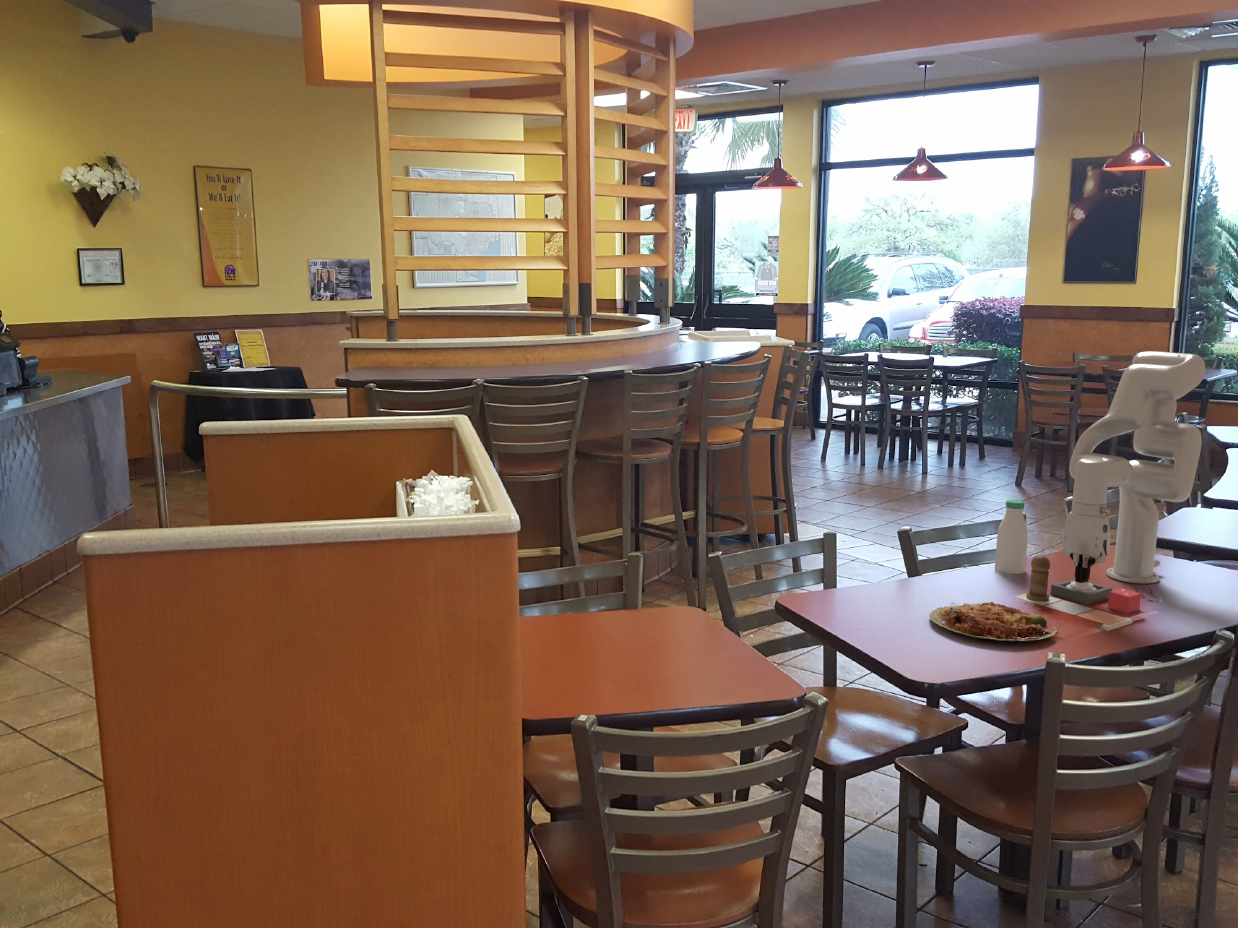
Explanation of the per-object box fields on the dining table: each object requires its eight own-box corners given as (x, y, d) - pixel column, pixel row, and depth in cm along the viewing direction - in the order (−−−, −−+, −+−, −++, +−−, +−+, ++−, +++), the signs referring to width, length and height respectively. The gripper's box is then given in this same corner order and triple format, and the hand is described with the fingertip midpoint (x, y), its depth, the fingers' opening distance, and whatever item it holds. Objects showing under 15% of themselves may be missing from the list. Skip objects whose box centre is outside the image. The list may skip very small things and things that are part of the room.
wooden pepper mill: (1034, 593, 264) (1038, 551, 262) (1053, 599, 260) (1057, 556, 258) (1021, 597, 261) (1025, 554, 259) (1040, 602, 257) (1044, 559, 255)
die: (1119, 608, 257) (1121, 587, 256) (1138, 613, 253) (1141, 592, 252) (1107, 611, 254) (1109, 590, 253) (1127, 617, 250) (1129, 595, 249)
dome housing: (1073, 591, 270) (1075, 578, 269) (1110, 601, 262) (1111, 588, 261) (1050, 597, 264) (1051, 584, 264) (1087, 608, 256) (1088, 594, 256)
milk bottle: (1029, 577, 282) (1035, 504, 278) (999, 577, 282) (1005, 504, 278) (1018, 569, 289) (1024, 498, 285) (990, 569, 289) (996, 497, 286)
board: (1033, 594, 267) (1033, 590, 267) (1132, 623, 246) (1132, 618, 246) (1008, 600, 262) (1009, 596, 261) (1107, 630, 240) (1107, 626, 240)
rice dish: (952, 606, 262) (952, 584, 261) (1070, 623, 246) (1071, 601, 245) (911, 637, 239) (911, 613, 238) (1038, 658, 223) (1039, 633, 222)
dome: (1076, 586, 268) (1077, 575, 267) (1102, 593, 262) (1103, 582, 261) (1059, 591, 264) (1060, 580, 263) (1085, 598, 258) (1086, 587, 257)
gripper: (1126, 513, 255) (1118, 586, 258) (1069, 501, 267) (1063, 572, 270) (1108, 516, 251) (1101, 591, 254) (1051, 505, 263) (1045, 576, 266)
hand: (1081, 581), depth 262 cm, fingers closed
